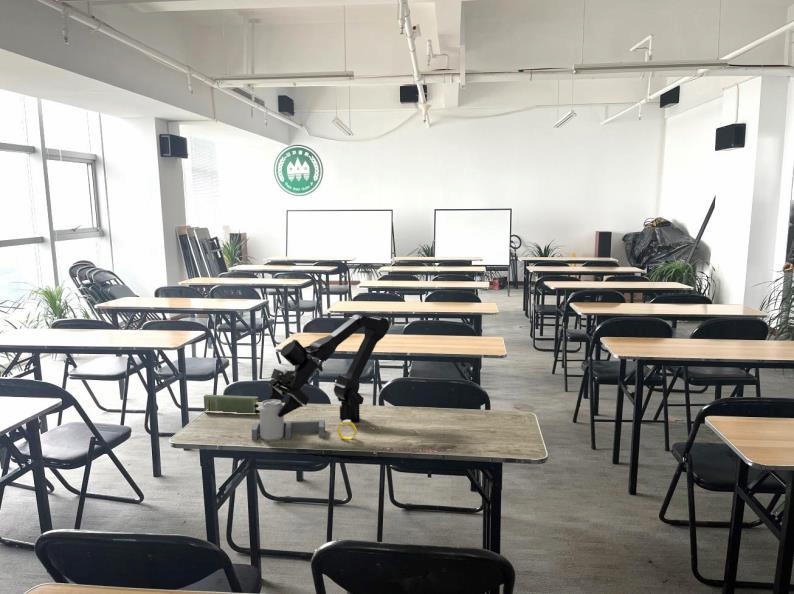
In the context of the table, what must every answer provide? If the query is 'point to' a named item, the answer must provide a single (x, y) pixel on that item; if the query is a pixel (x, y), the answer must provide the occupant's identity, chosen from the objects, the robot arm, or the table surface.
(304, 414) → the table surface
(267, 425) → the can
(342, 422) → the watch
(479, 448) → the table surface
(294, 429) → the comb rack
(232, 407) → the handheld radio
